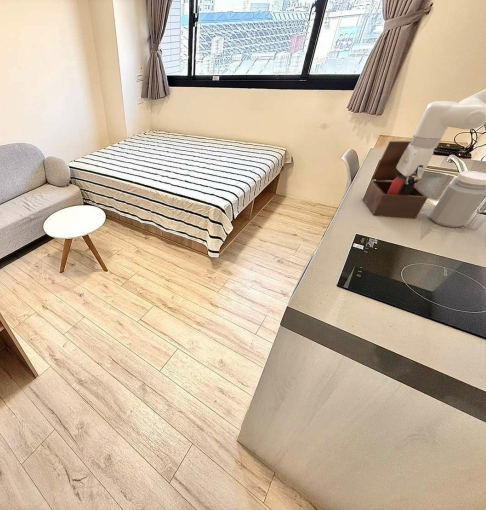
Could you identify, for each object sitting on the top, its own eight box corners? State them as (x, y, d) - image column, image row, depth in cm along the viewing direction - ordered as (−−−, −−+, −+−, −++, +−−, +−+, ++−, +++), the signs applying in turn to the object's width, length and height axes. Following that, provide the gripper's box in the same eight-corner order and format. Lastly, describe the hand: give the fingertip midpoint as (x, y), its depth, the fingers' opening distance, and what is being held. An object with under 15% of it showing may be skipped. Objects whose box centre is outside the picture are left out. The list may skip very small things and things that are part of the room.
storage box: (415, 218, 106) (428, 197, 101) (373, 215, 110) (383, 194, 104) (400, 202, 117) (410, 182, 112) (362, 199, 121) (370, 180, 116)
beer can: (385, 209, 109) (400, 180, 102) (378, 202, 114) (392, 173, 107) (405, 210, 107) (421, 180, 100) (397, 203, 112) (412, 174, 105)
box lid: (435, 142, 101) (429, 137, 105) (390, 141, 105) (385, 136, 108) (411, 181, 111) (406, 175, 115) (371, 179, 115) (368, 173, 119)
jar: (425, 222, 104) (454, 175, 93) (432, 213, 108) (459, 167, 98) (461, 231, 97) (496, 182, 87) (466, 221, 102) (500, 174, 92)
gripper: (401, 135, 104) (380, 181, 114) (422, 148, 90) (397, 198, 101) (426, 135, 102) (402, 182, 112) (451, 149, 88) (422, 200, 99)
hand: (400, 189), depth 106 cm, fingers closed on beer can, 6 cm apart
